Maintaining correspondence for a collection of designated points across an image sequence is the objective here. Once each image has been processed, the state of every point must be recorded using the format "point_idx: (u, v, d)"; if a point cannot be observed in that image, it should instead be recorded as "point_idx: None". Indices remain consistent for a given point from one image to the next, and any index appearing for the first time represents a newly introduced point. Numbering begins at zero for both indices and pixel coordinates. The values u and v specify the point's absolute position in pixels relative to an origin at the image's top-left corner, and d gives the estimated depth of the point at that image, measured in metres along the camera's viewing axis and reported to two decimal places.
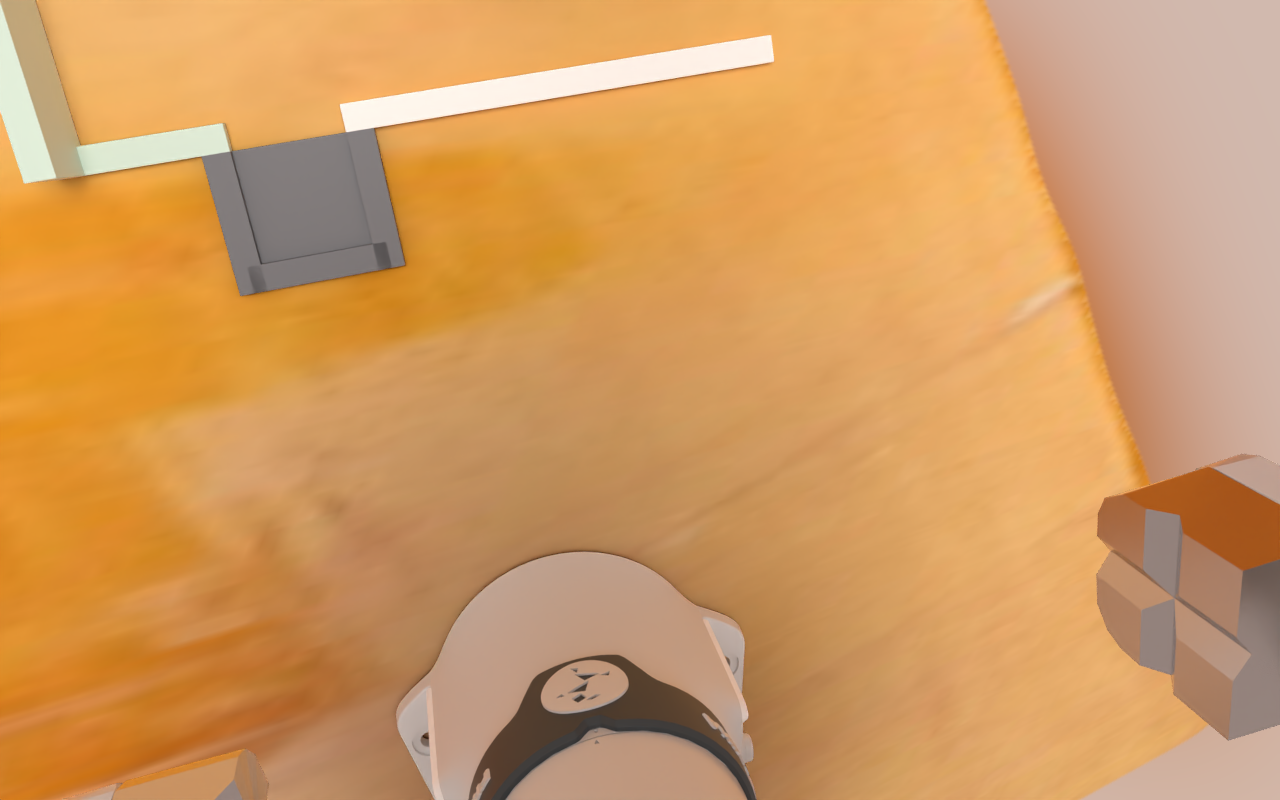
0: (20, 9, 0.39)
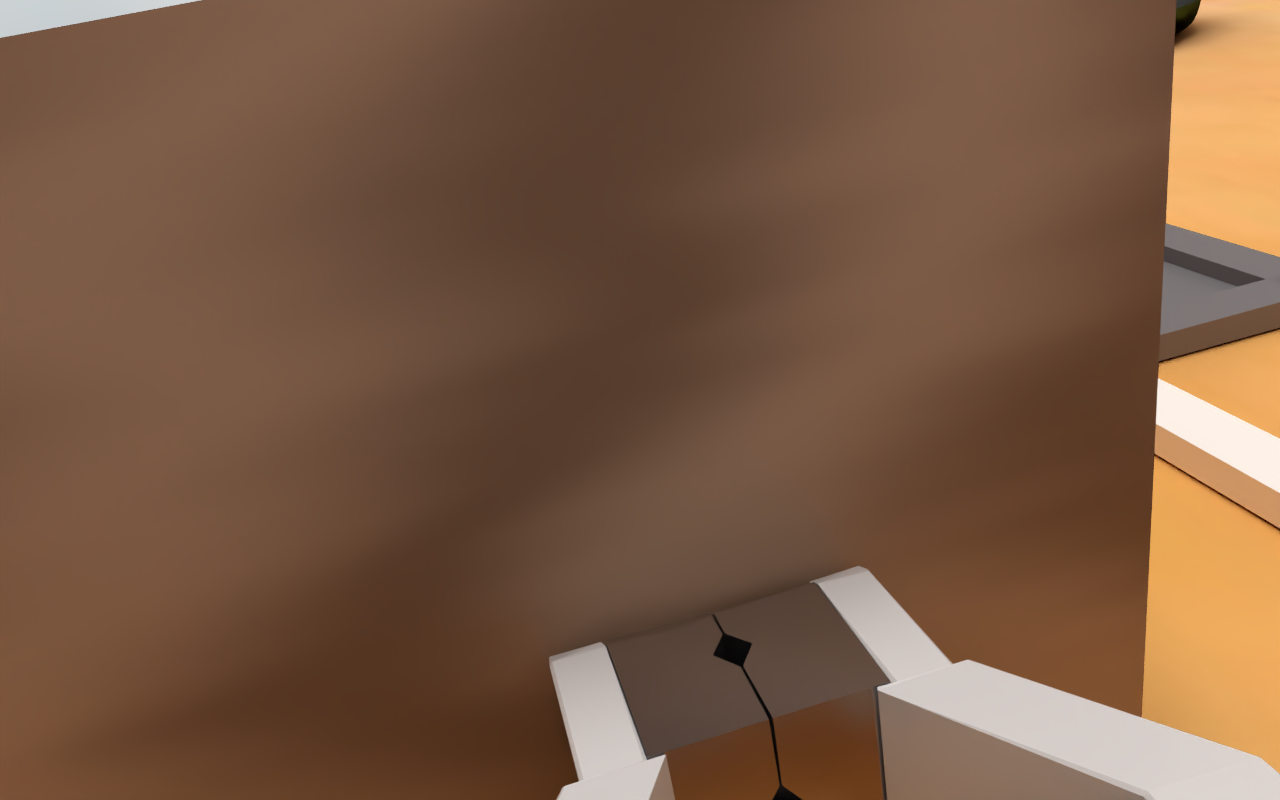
0: None
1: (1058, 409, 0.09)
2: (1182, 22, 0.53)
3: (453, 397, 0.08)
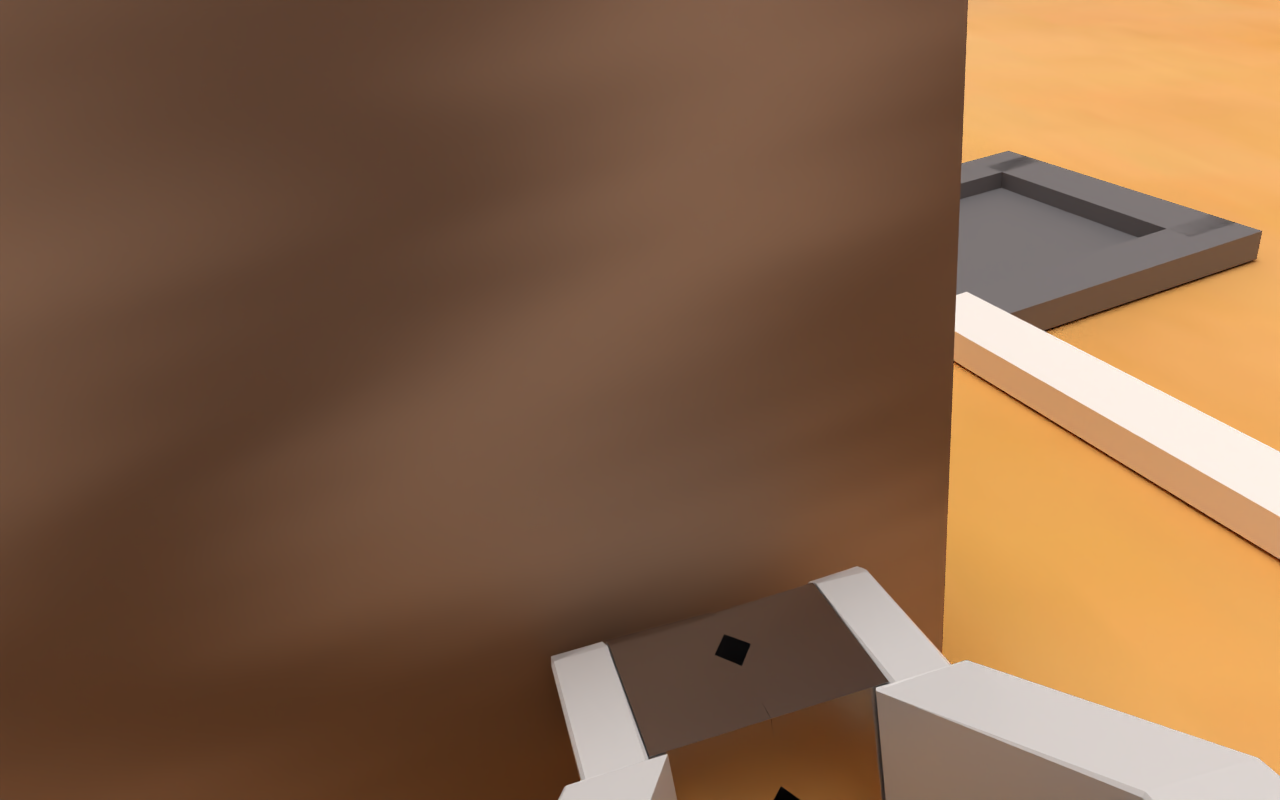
0: None
1: (858, 319, 0.09)
2: None
3: (156, 317, 0.06)
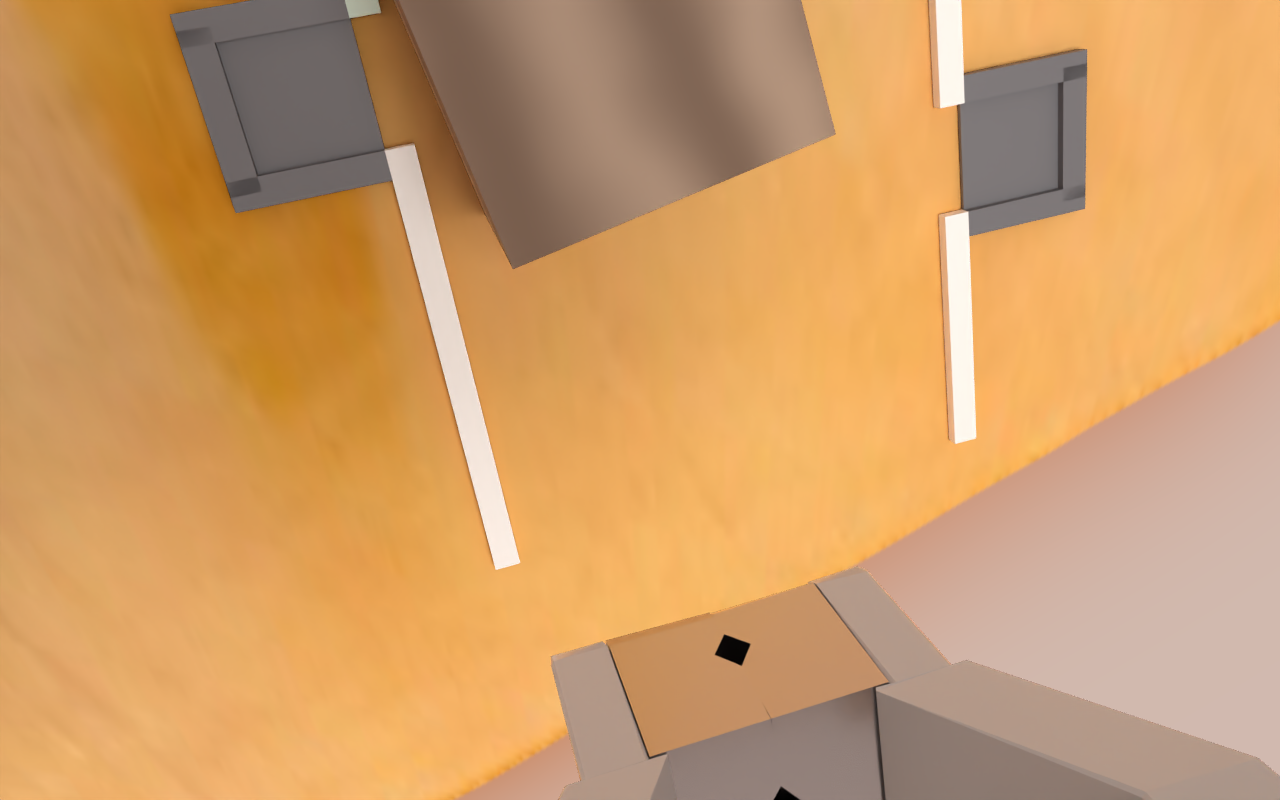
0: None
1: None
2: None
3: None
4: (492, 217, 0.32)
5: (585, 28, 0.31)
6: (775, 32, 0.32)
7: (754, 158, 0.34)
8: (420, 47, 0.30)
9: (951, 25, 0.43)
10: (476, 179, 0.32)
